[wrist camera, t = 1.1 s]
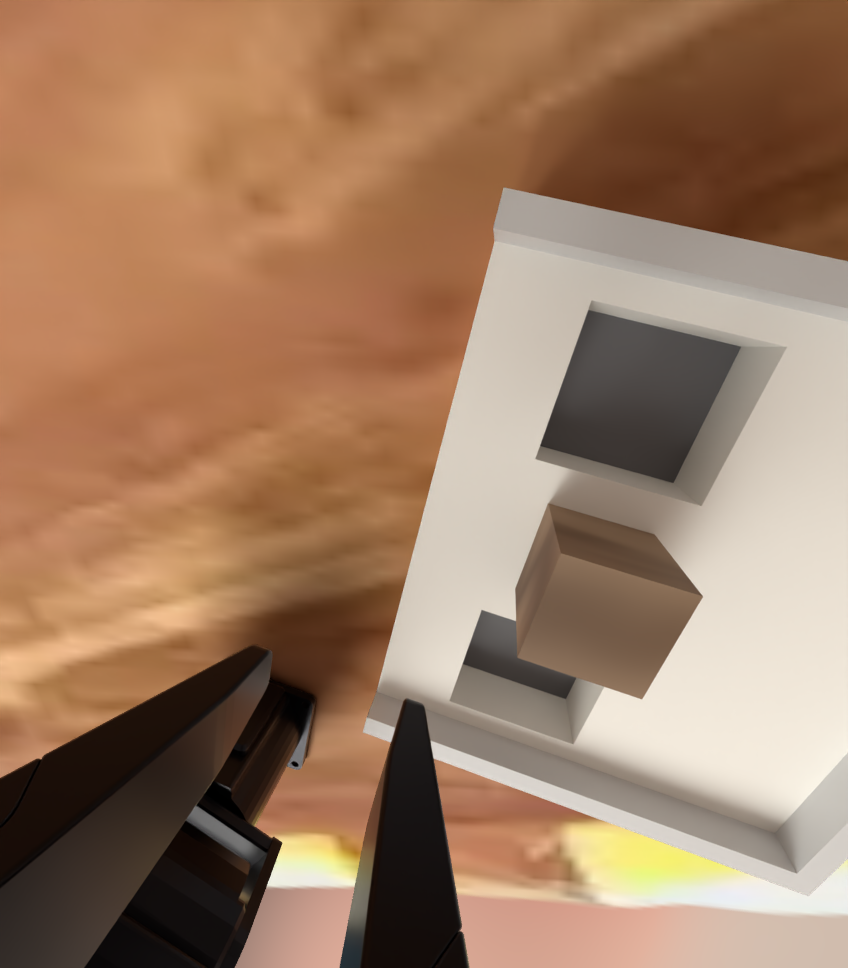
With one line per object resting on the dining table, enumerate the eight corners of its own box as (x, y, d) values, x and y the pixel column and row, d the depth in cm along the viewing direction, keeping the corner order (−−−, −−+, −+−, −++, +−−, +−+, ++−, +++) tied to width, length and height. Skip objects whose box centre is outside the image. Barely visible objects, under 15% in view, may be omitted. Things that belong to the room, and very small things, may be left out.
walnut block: (611, 619, 16) (642, 699, 13) (515, 588, 17) (517, 657, 13) (654, 534, 15) (703, 596, 11) (548, 503, 15) (560, 553, 12)
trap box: (749, 787, 21) (808, 896, 17) (389, 662, 23) (362, 732, 19) (1093, 363, 13) (1359, 371, 9) (504, 230, 15) (503, 187, 11)
